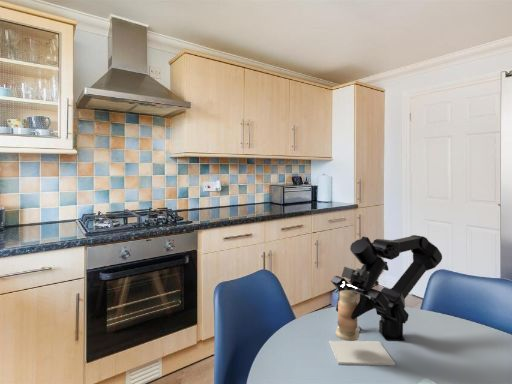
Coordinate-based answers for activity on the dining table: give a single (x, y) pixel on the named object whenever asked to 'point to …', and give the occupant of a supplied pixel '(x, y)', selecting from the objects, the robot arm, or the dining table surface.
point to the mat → (360, 353)
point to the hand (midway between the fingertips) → (344, 314)
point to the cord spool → (347, 316)
